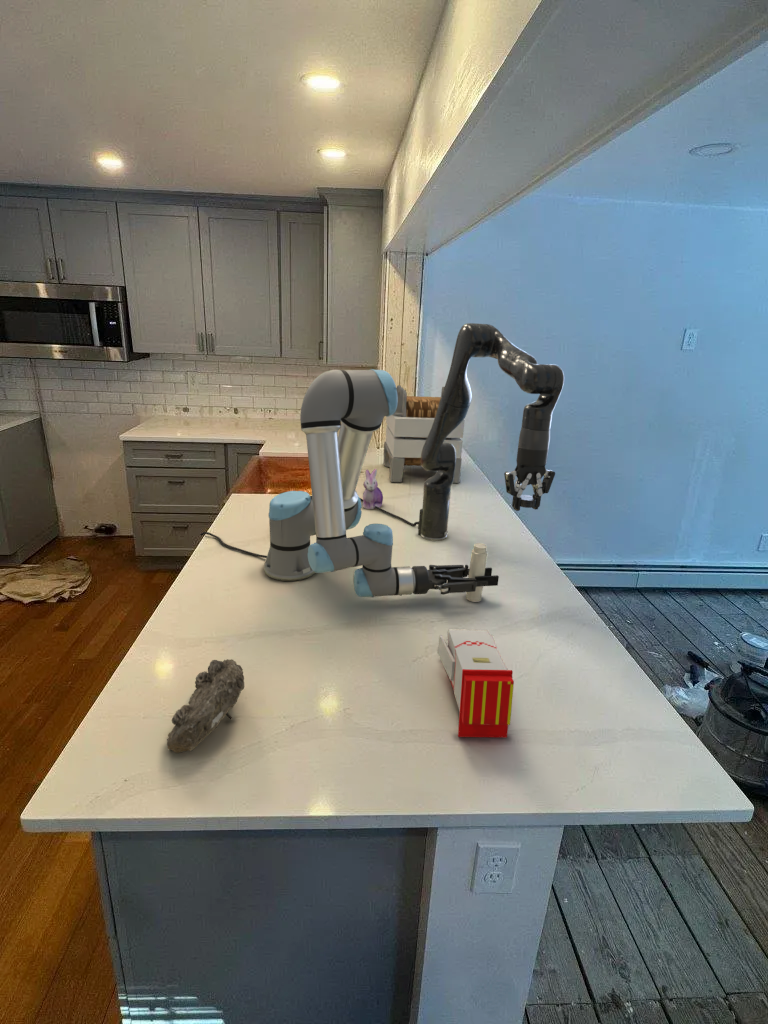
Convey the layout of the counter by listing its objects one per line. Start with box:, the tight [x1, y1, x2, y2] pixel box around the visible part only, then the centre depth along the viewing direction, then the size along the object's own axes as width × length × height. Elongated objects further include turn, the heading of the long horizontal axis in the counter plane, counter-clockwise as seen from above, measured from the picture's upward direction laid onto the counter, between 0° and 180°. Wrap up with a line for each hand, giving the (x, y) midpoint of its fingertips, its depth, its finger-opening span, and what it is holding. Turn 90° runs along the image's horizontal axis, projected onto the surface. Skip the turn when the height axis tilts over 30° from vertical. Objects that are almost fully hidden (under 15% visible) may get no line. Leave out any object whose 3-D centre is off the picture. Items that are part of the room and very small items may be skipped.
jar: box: [465, 542, 488, 603], centre depth 155 cm, size 4×4×16 cm
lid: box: [520, 494, 536, 509], centre depth 148 cm, size 5×5×2 cm
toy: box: [437, 628, 515, 738], centre depth 117 cm, size 12×13×30 cm
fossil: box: [166, 658, 245, 754], centre depth 106 cm, size 22×10×15 cm
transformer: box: [383, 384, 465, 484], centre depth 268 cm, size 34×33×41 cm
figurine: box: [361, 468, 384, 510], centre depth 224 cm, size 9×10×15 cm
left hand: (494, 576), depth 156 cm, fingers closed on jar, 4 cm apart
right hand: (525, 509), depth 149 cm, fingers closed on lid, 4 cm apart
